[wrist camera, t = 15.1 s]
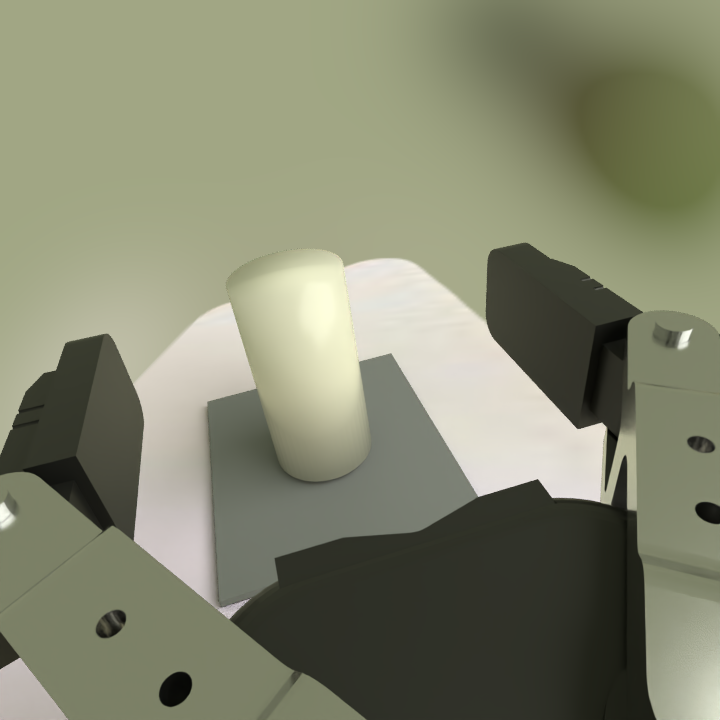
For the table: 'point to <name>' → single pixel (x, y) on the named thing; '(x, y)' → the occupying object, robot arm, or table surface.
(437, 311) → the table surface
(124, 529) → the robot arm
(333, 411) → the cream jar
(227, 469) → the grey mat
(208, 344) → the table surface
